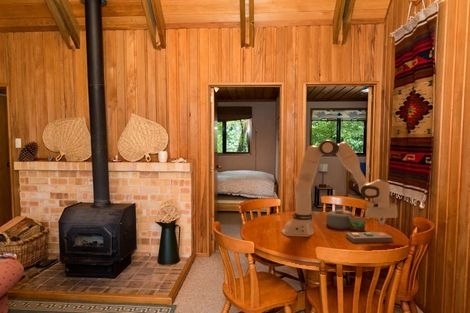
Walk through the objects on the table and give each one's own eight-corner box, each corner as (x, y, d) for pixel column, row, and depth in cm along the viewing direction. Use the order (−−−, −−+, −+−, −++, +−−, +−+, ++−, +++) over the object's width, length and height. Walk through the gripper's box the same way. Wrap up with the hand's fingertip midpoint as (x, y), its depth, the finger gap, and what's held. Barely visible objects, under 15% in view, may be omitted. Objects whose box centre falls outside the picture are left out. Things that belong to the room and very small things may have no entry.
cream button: (353, 237, 194) (353, 234, 194) (351, 235, 198) (351, 232, 198) (359, 237, 194) (359, 234, 194) (356, 235, 198) (356, 232, 198)
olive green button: (367, 237, 194) (367, 234, 194) (364, 235, 198) (364, 232, 198) (373, 236, 194) (373, 234, 194) (370, 235, 198) (370, 232, 198)
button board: (353, 242, 190) (353, 238, 190) (345, 237, 202) (345, 232, 202) (392, 241, 191) (392, 237, 191) (382, 236, 203) (382, 231, 203)
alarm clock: (358, 226, 226) (358, 211, 225) (339, 230, 217) (339, 214, 216) (339, 221, 243) (339, 206, 242) (321, 224, 234) (321, 209, 234)
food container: (348, 230, 216) (348, 217, 215) (348, 228, 222) (348, 215, 221) (367, 232, 211) (367, 218, 211) (366, 230, 217) (366, 216, 217)
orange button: (380, 238, 195) (380, 235, 194) (377, 236, 199) (377, 233, 198) (386, 238, 195) (386, 235, 195) (383, 236, 199) (383, 233, 199)
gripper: (394, 202, 199) (393, 222, 200) (364, 202, 198) (364, 223, 199) (400, 204, 193) (399, 225, 194) (369, 204, 192) (369, 225, 193)
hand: (381, 224), depth 196 cm, fingers closed
